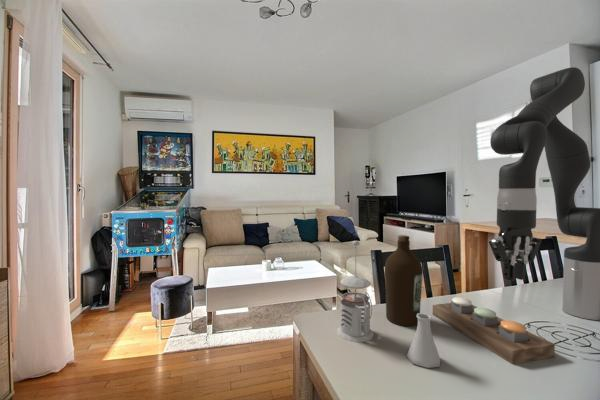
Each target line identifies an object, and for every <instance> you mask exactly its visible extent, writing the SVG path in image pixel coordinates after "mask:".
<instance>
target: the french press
mask: <svg viewBox="0 0 600 400" xmlns="http://www.w3.org/2000/svg"><path fill="white" fill-rule="evenodd" d="M352 246H354V247H355V249H354V250H355V251H354V254H355V255H354V259H355V260H354V266H355V268H354V269H355V270H354V275H349V276H346V277H343V279H341V280H340V284H341V286H343V287H345V288H348V289H354V291H353V292H345V293H343V294H342V296H341V298H342V299H341V301H340V310H341V311H340V326H339V327H338V328H337V330H336V332H337V334H338V336H339V337H340V338H342V339H343V340H346V341H349V342H355V343H360V342H361V343H364V342H368V341H370V340H373V338H374V332H373V330H372V329H371V318H372V315H373V304H372V300H371V297H370V295H369V293H368V292H367V291H365V294H364V293H362V292H357V290H359V289H361V290H362V289H367V288H369V287H370V286H371V285H372V282H370V281H371V280H370V281H369V280H368V279H367V278H366V277H363V276H359V275H357V246H360V241H359V240H353V241H352ZM357 306H358V307H357Z"/></svg>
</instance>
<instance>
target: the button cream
mask: <svg viewBox="0 0 600 400" xmlns="http://www.w3.org/2000/svg"><path fill="white" fill-rule="evenodd" d="M450 303H451V309H453V310H455V311H457V312H458V313H460V314H465V313H473V302H472V300H470V299H468V298H465V297H461V296H460V297H459V296H455V297H453V298H452V300H451V301H450Z"/></svg>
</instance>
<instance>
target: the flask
mask: <svg viewBox="0 0 600 400" xmlns="http://www.w3.org/2000/svg"><path fill="white" fill-rule="evenodd" d="M417 318H418V324H417V325H416V326H417V327H416V331H415V333H414V337H413V339H412V341H411V344H410V346H409V349H408V352H407V355H406V358H407V359H408V360H409V361H410V362H411V363H412V365H416V366H420V367H424V368H427V369H430V368H440V367H441V357H440V354H439V352H438V351H439V350H438V348H437V347H436V343H435V339H434V337H433V334H432V327H431V322H432V319H433V318H432V316H431V315H429V314H428V313H424V312H422V313H421V312H420V313H417Z"/></svg>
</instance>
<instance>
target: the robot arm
mask: <svg viewBox="0 0 600 400" xmlns="http://www.w3.org/2000/svg"><path fill="white" fill-rule="evenodd" d="M585 86H586V81H585V76H584V74H583V71H582V70H581V69H580V68H578V67H574V66H573V67H572V66H571V67H565V68H562V69H560V70H557V71H554V72H550V73H548V74H545V75H542V76H539V77H537V78H534V79H533V80H532V81H531V83H530V86H529V94H530V99H531V101H530V102H529V103H528V104H527V105H526V106H524V107H523V108H522V109H521V111H519V113H518V114H517V115H516V116H514V117H511V118H509V119H508V120H506V121H505V122H502V123H501V124H500V125H498V126H497V127H496V129H495V130H494V131H493V132H492V134H491V137H490V143H489V144H490V147H491V149H492V151H493V152H494V153H496V154H498V155H503V156H504V155H507V156H508V155H516V154H517V155H518V154H522V155H521V157H520V158H519V159H518V160H516V161H515V162H511V163H508V164H503V165H502V166H501V167H500V168H499V171H498V193H497V197H496V198H497V199H496V226H498V228H499V232H498V235H497V236H496V237H495V238H490V239H489V240H488V244H489V246H490V249H491V251H492V254H493V256H494V258H495V261H496V262H500V263H502V264H503V274H502V275H503V278H504V279H505V280H508V281H511V282H514V281H516V279H517V280H520V281H524V280H525V279H526V274H527V265H528V263H529V262H534V261H535V259H536V256H537V254H538V251H539V249H540V247H541V244H542V241H543V240H542V238H538V237H536V236H533V231H532V230H534V229H536V227H537V205H538V204H537V201H538V200H537V190H536V189H537V188H536V184H537V183H536V181H537V180H536V179H537V169H538V166H539V161H540V158H541V156H542V153H543V150H544V152H545V158H546V162H547V166H548V170H549V173H550V174H549V175H550V177H551V184H552V187H553V192H554V201H555V203H554V204H555V212H556V213H555V214H556V221H557V225H558V229H559V230H560V232H561V233H562V234H564V235H566V236H572V237H578V238H579V237H581V238H586V241H585V243H583V244H581V245H577V246H569V247H565V248H564V250H563V281H562V311H563V312H565V313H567V314H569V315H570V316H573V317H577V318H582V319H587V320H591V321H600V207H581V206H577V205H576V201H575V197H576V196H575V194H576V191H578V190H577V189H578V188H579V186H580V185H581V183H582V182H583V180H584V179H585V178H586V176H587V174H588V173H589V171H590V168H591V159H590V153H589V148H588V145H587V142H586V141H585V140H584V139H583V138H582V136H581V137H580V136H579V135H578V134H577V133H575V132H574V131H573V130H571V129H570V128H568V127H567V126H566V125H565V124H564V123H562V121H560V119H559V118H558V117H557V115H558V114H560V113H561V112H562V111H563V110H565V109H566V108H568V107H569V106H570V105H571V104H572V103H574V102H575V101H577V100H579V98H580V97H581V96H582V95H583V93H584V90H585Z"/></svg>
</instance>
